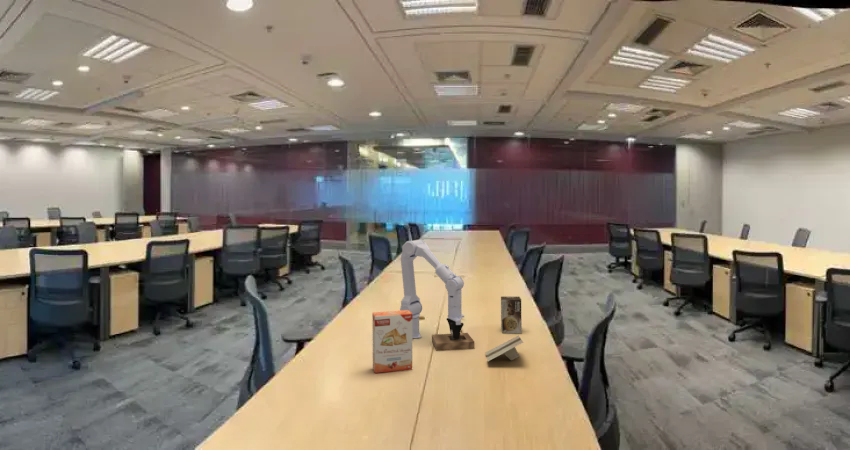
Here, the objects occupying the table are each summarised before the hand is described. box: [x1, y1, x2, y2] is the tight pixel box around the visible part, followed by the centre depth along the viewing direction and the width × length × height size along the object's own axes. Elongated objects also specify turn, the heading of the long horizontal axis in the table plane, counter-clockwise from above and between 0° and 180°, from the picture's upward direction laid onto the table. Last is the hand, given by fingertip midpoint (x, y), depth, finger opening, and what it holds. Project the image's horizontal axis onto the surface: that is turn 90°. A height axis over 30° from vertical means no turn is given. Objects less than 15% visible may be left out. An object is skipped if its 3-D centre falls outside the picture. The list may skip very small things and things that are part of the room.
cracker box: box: [372, 310, 413, 374], centre depth 152 cm, size 14×6×21 cm, turn 105°
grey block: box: [450, 329, 463, 340], centre depth 179 cm, size 5×4×6 cm
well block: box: [431, 332, 476, 352], centre depth 178 cm, size 16×12×3 cm
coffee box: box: [500, 296, 523, 334], centre depth 196 cm, size 9×6×16 cm
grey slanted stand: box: [484, 335, 524, 362], centre depth 161 cm, size 16×9×15 cm
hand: (454, 336), depth 179 cm, fingers open, 5 cm apart
